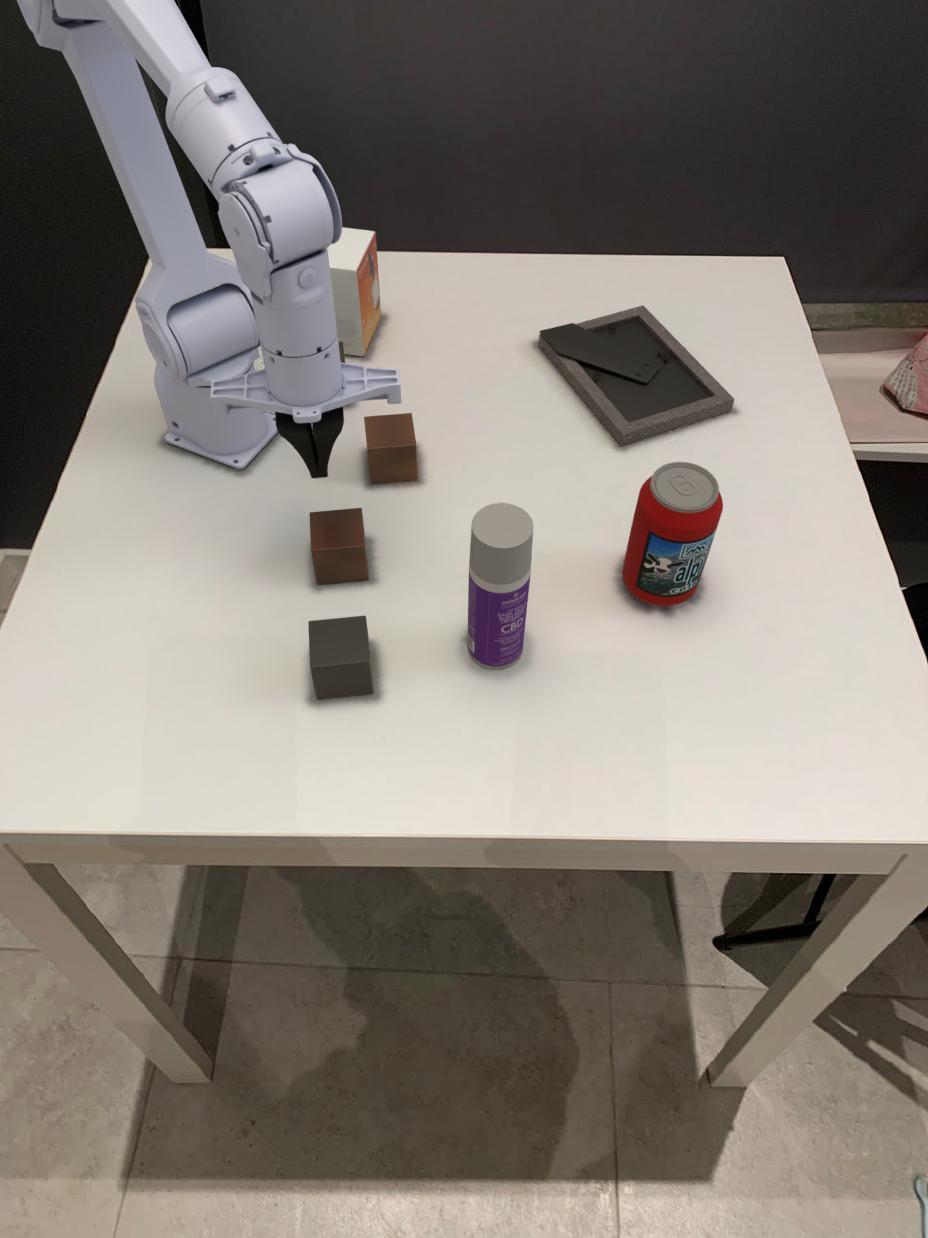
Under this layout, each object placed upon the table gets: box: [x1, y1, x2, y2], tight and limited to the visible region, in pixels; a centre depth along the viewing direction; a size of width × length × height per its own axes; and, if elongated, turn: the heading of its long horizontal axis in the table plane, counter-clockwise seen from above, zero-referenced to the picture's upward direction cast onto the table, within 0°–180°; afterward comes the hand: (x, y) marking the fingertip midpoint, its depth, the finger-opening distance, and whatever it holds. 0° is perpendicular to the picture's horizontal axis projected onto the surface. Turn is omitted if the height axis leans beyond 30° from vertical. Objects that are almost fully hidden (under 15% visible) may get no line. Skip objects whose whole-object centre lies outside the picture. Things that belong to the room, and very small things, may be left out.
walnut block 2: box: [363, 412, 419, 485], centre depth 90 cm, size 5×5×5 cm
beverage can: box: [621, 461, 724, 607], centre depth 78 cm, size 7×7×12 cm
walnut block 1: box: [308, 507, 370, 586], centre depth 82 cm, size 5×5×5 cm
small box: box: [326, 226, 382, 357], centre depth 100 cm, size 8×6×10 cm
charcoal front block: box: [307, 615, 375, 700], centre depth 75 cm, size 5×5×5 cm
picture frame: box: [537, 304, 736, 447], centre depth 100 cm, size 13×2×18 cm
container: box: [467, 502, 534, 671], centre depth 72 cm, size 5×5×15 cm
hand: (319, 469), depth 79 cm, fingers closed
